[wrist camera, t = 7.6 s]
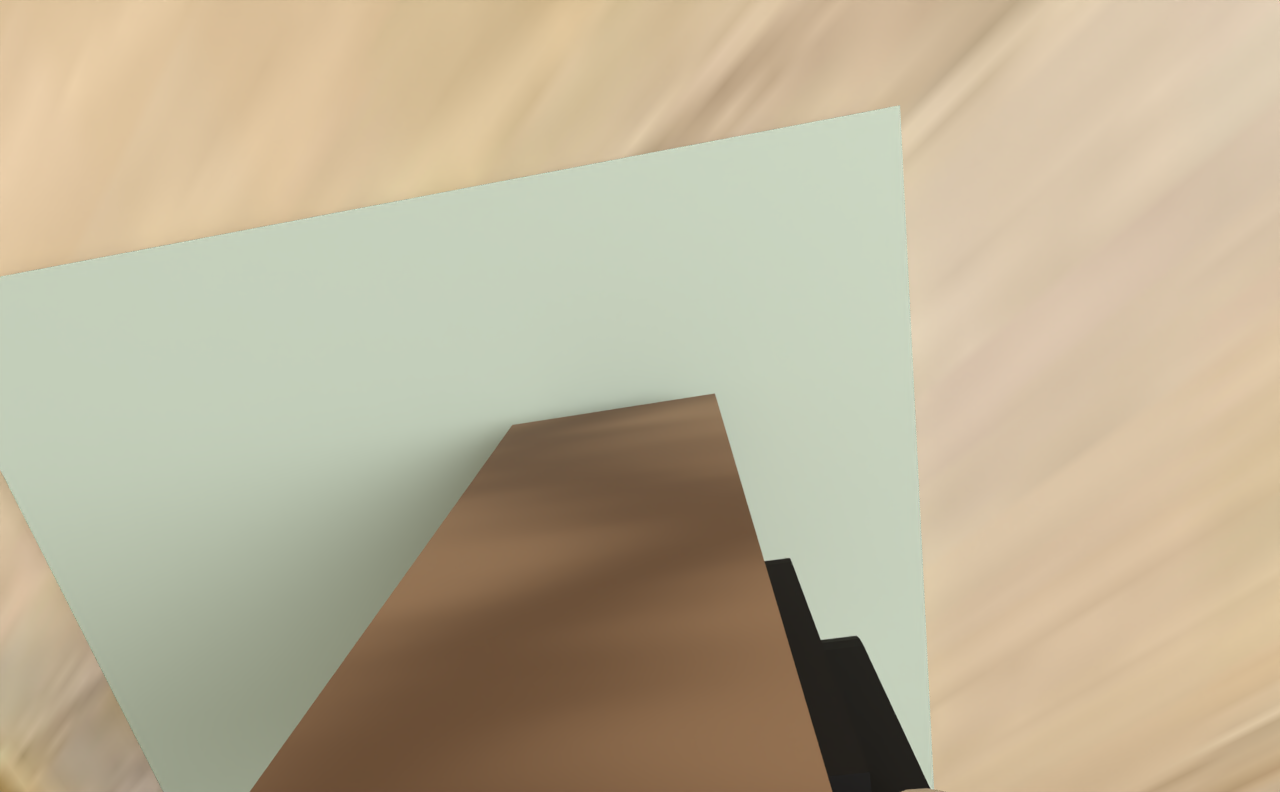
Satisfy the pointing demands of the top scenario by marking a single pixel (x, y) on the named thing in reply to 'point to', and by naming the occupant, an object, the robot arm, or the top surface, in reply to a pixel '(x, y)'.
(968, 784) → the top surface
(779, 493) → the sage mat
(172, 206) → the top surface
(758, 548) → the walnut slab
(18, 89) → the top surface
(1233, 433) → the top surface
